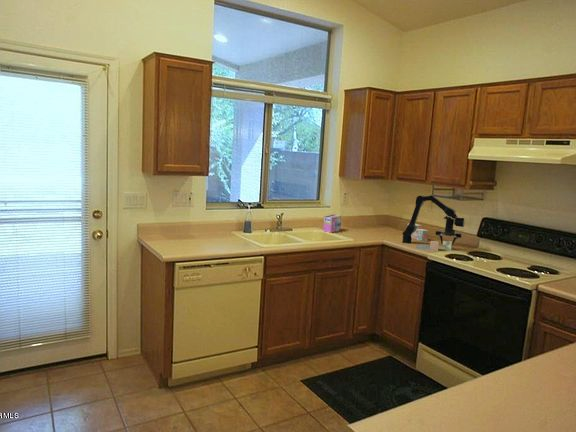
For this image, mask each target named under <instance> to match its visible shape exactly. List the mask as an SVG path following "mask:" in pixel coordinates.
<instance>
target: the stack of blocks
mask: <svg viewBox="0 0 576 432" xmlns="http://www.w3.org/2000/svg"><path fill="white" fill-rule="evenodd" d="M409 223H410V222H409ZM409 223H407V226H408V225H409ZM415 226H417V228H416V231H415V232H414V233H412V235H411V237H412V240H417V241H419V240H420V242H428V238H429V230H428V229H423V225H422V224H417V223H415Z"/></svg>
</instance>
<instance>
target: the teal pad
mask: <svg viewBox="0 0 576 432" xmlns="http://www.w3.org/2000/svg"><path fill="white" fill-rule="evenodd" d="M440 250H445V251H454V248H452V247H451V250H448V249H443V246H441V247H440Z"/></svg>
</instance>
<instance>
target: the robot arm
mask: <svg viewBox="0 0 576 432" xmlns="http://www.w3.org/2000/svg"><path fill="white" fill-rule="evenodd" d="M428 201H431V202H432V203H433V204H434V205H436V206H437V207H438V208H440V209H441V210H442V212H444V213H445V214H446V215H445V216H444V217H443V219H445V226H444V231H442V230H436V231H435V236H437V237H439V239H440V242H441V244H443V240H444V239H443V235H444V236H447V237H448V236H449V237H453V238H452V243H451V247H453V245H454V243H455V241H456V240H457V239H459V238H462V233H460V232H456V230H455V229H454V227H460V228H464V227H465V218H464V217H458V215H457V214H456V213H457V212H456V210H455V209H454V208H452V207H450V206H448V205H446V204H444V203H443V201H441V200H439V199H438V198H437V197H436V196H435V195H434V194H433V195H417V196H416V197H415V207H414V210H413V213H412V215H411V218H410V222H409V225H408V224H407V226H406V228H405V230H404V231H403V232H402V242H401V243H403V244H411V243H412V240H413V238H412V237H411V235H412V233H414V232H415V231H416V228H417V226H415V224H417V220H418V217H419V214H420V210H421V208H422V206H423V205H424V203H425V202H428ZM455 232H456V233H455Z"/></svg>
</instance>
